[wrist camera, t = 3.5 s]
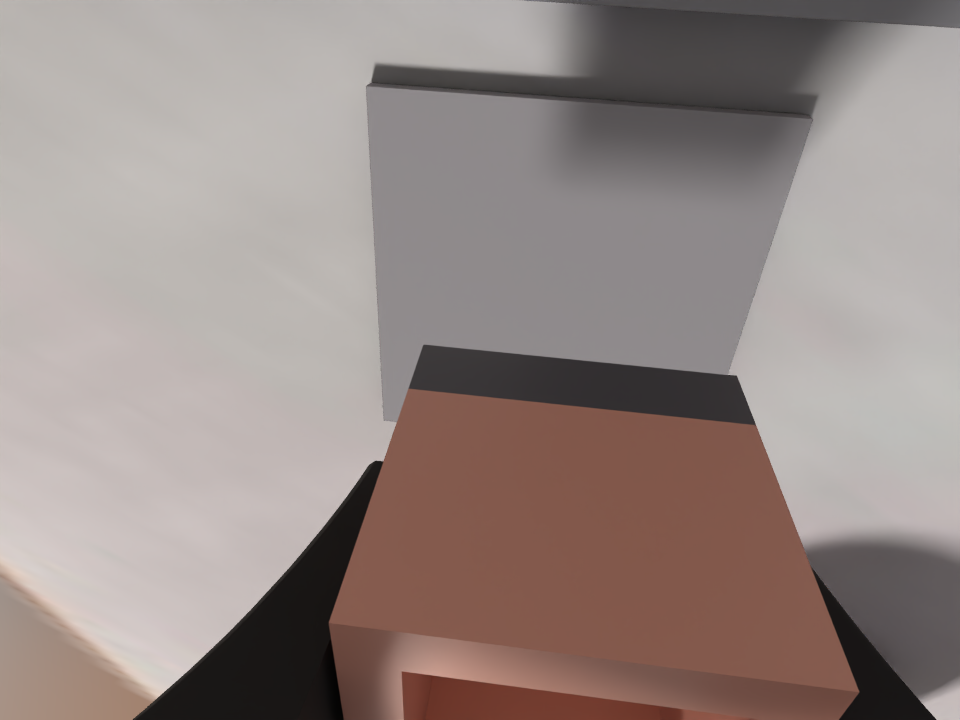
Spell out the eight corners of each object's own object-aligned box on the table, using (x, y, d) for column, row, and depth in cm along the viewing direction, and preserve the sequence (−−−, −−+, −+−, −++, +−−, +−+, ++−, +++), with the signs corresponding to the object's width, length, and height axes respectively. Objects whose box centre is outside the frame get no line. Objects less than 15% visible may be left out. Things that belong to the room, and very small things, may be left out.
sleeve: (736, 375, 10) (859, 692, 6) (668, 574, 13) (717, 882, 9) (423, 344, 10) (328, 622, 6) (424, 545, 13) (360, 827, 9)
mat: (807, 114, 14) (813, 118, 14) (698, 445, 20) (700, 454, 19) (370, 82, 15) (365, 86, 14) (386, 412, 20) (383, 420, 20)
